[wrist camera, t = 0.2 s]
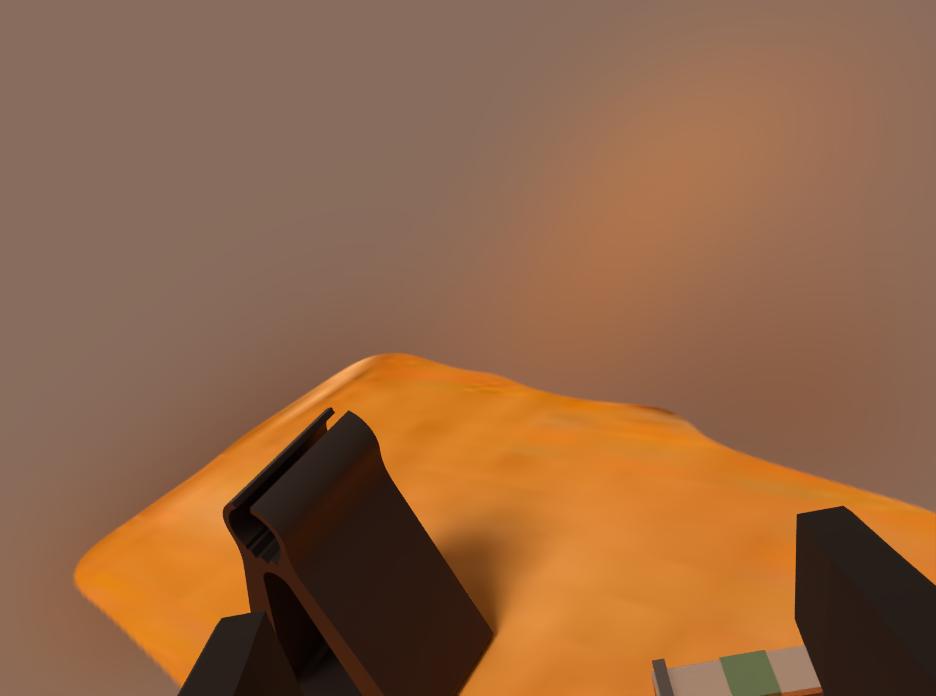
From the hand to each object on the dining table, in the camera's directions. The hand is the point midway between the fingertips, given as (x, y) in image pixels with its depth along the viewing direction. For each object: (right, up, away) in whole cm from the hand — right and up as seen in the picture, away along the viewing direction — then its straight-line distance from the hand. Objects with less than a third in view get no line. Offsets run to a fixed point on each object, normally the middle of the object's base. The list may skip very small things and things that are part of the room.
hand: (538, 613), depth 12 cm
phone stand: (-5, -11, +28) cm, 30 cm away
